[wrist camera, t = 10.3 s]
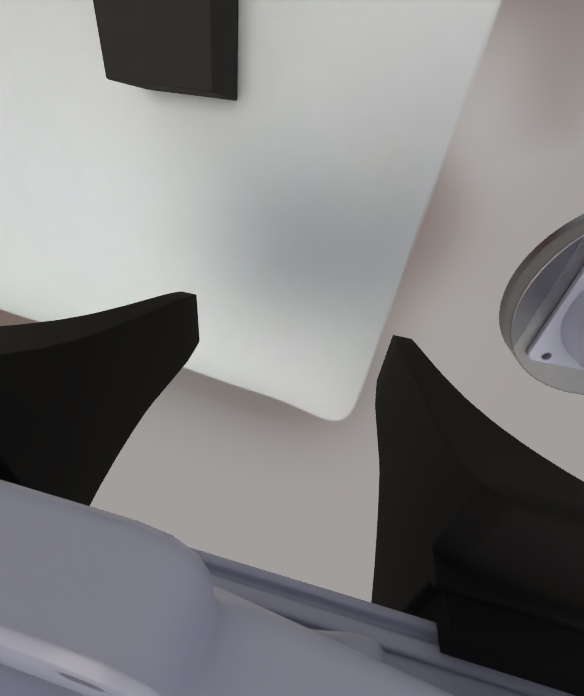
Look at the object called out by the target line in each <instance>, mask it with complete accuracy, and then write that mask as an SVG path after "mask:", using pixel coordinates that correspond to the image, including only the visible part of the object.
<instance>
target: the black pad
mask: <svg viewBox="0 0 584 696" xmlns="http://www.w3.org/2000/svg"><path fill="white" fill-rule="evenodd" d="M93 3H94V8H95V14H96V20H97V26H98V32H99V37H100V43H101V49H102V55H103V61H104V66H105V72H106V77H107V79H109V80H113V81H117V82H121V83H125V84H129V85H132V86H136V87H140V88H144V89H149V90H157V91H165V92H173V93H180V94H188V95H196V96H204V97H212V98H219V99H227V100H235V101H236V100H237V50H238V0H93Z"/></svg>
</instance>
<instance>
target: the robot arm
mask: <svg viewBox="0 0 584 696" xmlns="http://www.w3.org/2000/svg"><path fill="white" fill-rule="evenodd" d="M198 343H199V327H198V313H197V298H196V295H195V294H190V293H185V292H175V293H170V294H166V295H162V296H158V297H154V298H151V299H147V300H144V301H140V302H137V303H133V304H130V305H126V306H122V307H118V308H114V309H110V310H106V311H102V312H98V313H94V314H89V315H84V316H79V317H73V318H67V319H62V320H55V321H47V322H38V323H30V324H21V325H10V326H0V696H584V482H583V481H582V480H580V479H578V478H576V477H574V476H573V475H571V474H569V473H567V472H566V471H564V470H563V469H561V468H560V467H558V466H556V465H555V464H553V463H552V462H550V461H549V460H547V459H545V458H544V457H542V456H541V455H539V454H537V453H536V452H535V451H533V450H532V449H530V448H529V447H527V446H526V445H524V444H523V443H521V442H520V441H519V440H517V439H516V438H515V437H513V436H511V435H510V434H509V433H508V432H506V431H504V430H503V429H502V428H501V427H499V426H498V425H497V424H496V423H494V422H493V421H492V420H490V419H489V418H488V417H487V416H486V415H484V414H483V413H482V412H481V411H480V410H479V409H477V408H476V407H475V406H474V405H473V404H471V403H470V402H469V401H468V400H467V399H466V398H465V397H464V396H463V395H462V394H461V393H460V392H459V391H458V390H457V389H456V388H455V387H454V386H453V385H452V384H451V383H450V382H449V381H448V380H447V379H446V378H445V377H444V376H443V375H442V374H441V372H440V371H439V370H438V369H437V368H436V367H435V366H434V365H433V363H432V362H431V361H430V360H429V359H428V357H427V356H426V355H425V354H424V353H423V352H422V350H421V349H420V348H419V347H418V346H417V345H416V343H415V342H414V341H413V340H412V339H409V338H405V337H400V336H395V335H393V337H392V339H391V343H390V345H389V348H388V351H387V354H386V356H385V360H384V362H383V365H382V368H381V371H380V374H379V376H378V379H377V386H376V402H375V409H376V424H377V436H378V450H379V466H380V467H379V469H380V476H379V477H380V478H379V503H378V522H377V539H376V553H375V568H374V579H373V590H372V602H371V603H370V602H367V601H364V600H360V599H357V598H353V597H351V596H347V595H344V594H341V593H337V592H334V591H331V590H327V589H324V588H321V587H318V586H314V585H311V584H308V583H305V582H301V581H298V580H295V579H291V578H288V577H284V576H281V575H278V574H275V573H271V572H268V571H265V570H262V569H258V568H255V567H252V566H249V565H245V564H242V563H239V562H236V561H232V560H228V559H226V558H222V557H219V556H216V555H213V554H209V553H205V552H203V551H199V550H196V549H193V548H190V547H188V546H186V545H185V544H184V543H182V542H181V541H179V540H178V539H177V538H175V537H174V536H173V535H170V534H168V533H166V532H163V531H161V530H158V529H156V528H154V527H151V526H149V525H147V524H144V523H142V522H140V521H137V520H134V519H130V518H126V517H124V516H120V515H116V514H113V513H110V512H107V511H104V510H100V509H97V508H93V507H90V504H91V502H92V500H93V498H94V496H95V494H96V492H97V490H98V489H99V487H100V485H101V483H102V482H103V479H104V478H105V476H106V475H107V473H108V471H109V469H110V468H111V466H112V464H113V462H114V461H115V459H116V457H117V456H118V454H119V452H120V451H121V449H122V447H123V446H124V444H125V443H126V441H127V439H128V438H129V436H130V435H131V433H132V432H133V430H134V429H135V427H136V425H137V424H138V422H139V421H140V420H141V418H142V417H143V415H144V414H145V412H146V411H147V410H148V408H149V407H150V406H151V404H152V403H153V402H154V400H155V399H156V398H157V397H158V396H159V395H160V393H161V392H162V391H163V390H164V389H165V388H166V386H167V385H168V384H169V383H170V382H171V380H172V379H173V378H174V377H175V376H176V374H177V373H178V372H179V371H180V370H181V368H182V367H183V366H184V365H185V364H186V362H187V361H188V359H189V358H190V356H191V355H192V353H193V351H194V350H195V348H196V346H197V344H198ZM526 353H527V356H528V357H529V358H530V359H531V360H534V361H539V362H544V363H549V364H553V365H558V366H563V367H568V368H573V369H578V370H583V371H584V266H583V267H582V269H581V270H580V272H579V273H578V275H577V276H576V278H575V279H574V281H573V282H572V284H571V285H570V287H569V288H568V290H567V291H566V293H565V294H564V296H563V297H562V299H561V300H560V302H559V303H558V305H557V306H556V308H555V309H554V311H553V312H552V314H551V315H550V317H549V318H548V320H547V321H546V323H545V324H544V326H543V327H542V329H541V330H540V332H539V333H538V335H537V336H536V338H535V339H534V341H533V342H532V344H531V345H530V347H529V348H528V350H527V352H526ZM544 353H548V354H547V355H546V356H542V355H543V354H544Z"/></svg>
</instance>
